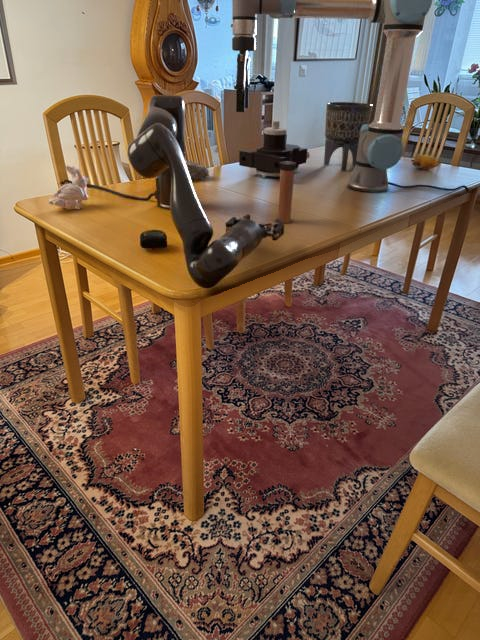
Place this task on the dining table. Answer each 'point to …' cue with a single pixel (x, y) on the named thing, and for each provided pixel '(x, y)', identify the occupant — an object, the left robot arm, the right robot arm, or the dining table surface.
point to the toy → (425, 162)
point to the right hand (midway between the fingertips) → (242, 110)
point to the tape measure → (153, 239)
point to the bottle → (285, 195)
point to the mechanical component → (273, 153)
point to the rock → (196, 171)
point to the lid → (287, 165)
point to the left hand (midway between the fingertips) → (263, 220)
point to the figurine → (71, 191)
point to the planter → (344, 129)
